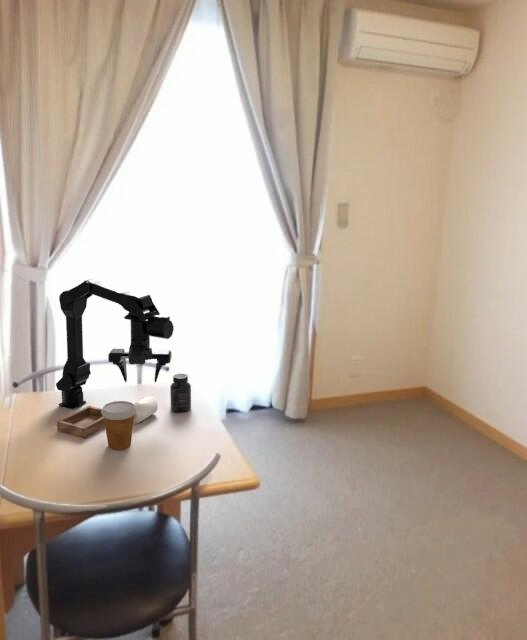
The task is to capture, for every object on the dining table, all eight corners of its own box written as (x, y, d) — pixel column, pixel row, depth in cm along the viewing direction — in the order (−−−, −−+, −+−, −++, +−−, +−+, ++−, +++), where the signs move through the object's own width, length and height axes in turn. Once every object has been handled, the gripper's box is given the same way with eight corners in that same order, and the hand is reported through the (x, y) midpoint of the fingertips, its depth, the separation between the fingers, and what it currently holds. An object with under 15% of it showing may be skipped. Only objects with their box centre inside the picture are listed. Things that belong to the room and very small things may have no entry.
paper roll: (140, 425, 174) (140, 408, 173) (125, 422, 177) (124, 404, 175) (158, 415, 183) (158, 397, 181) (143, 411, 185) (143, 394, 184)
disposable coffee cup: (142, 441, 164) (142, 403, 161) (124, 455, 155) (123, 415, 152) (115, 435, 167) (113, 398, 164) (95, 449, 158) (94, 410, 155)
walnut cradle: (57, 431, 168) (56, 421, 168) (89, 414, 181) (89, 405, 180) (84, 438, 164) (84, 428, 164) (115, 421, 177) (115, 411, 176)
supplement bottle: (193, 406, 191) (193, 373, 188) (188, 414, 184) (188, 380, 181) (173, 404, 191) (173, 371, 188) (168, 412, 185) (167, 378, 182)
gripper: (103, 340, 164) (105, 390, 167) (167, 342, 165) (167, 391, 169) (111, 330, 174) (112, 377, 178) (171, 332, 176) (171, 379, 179)
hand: (140, 381), depth 176 cm, fingers open, 9 cm apart
